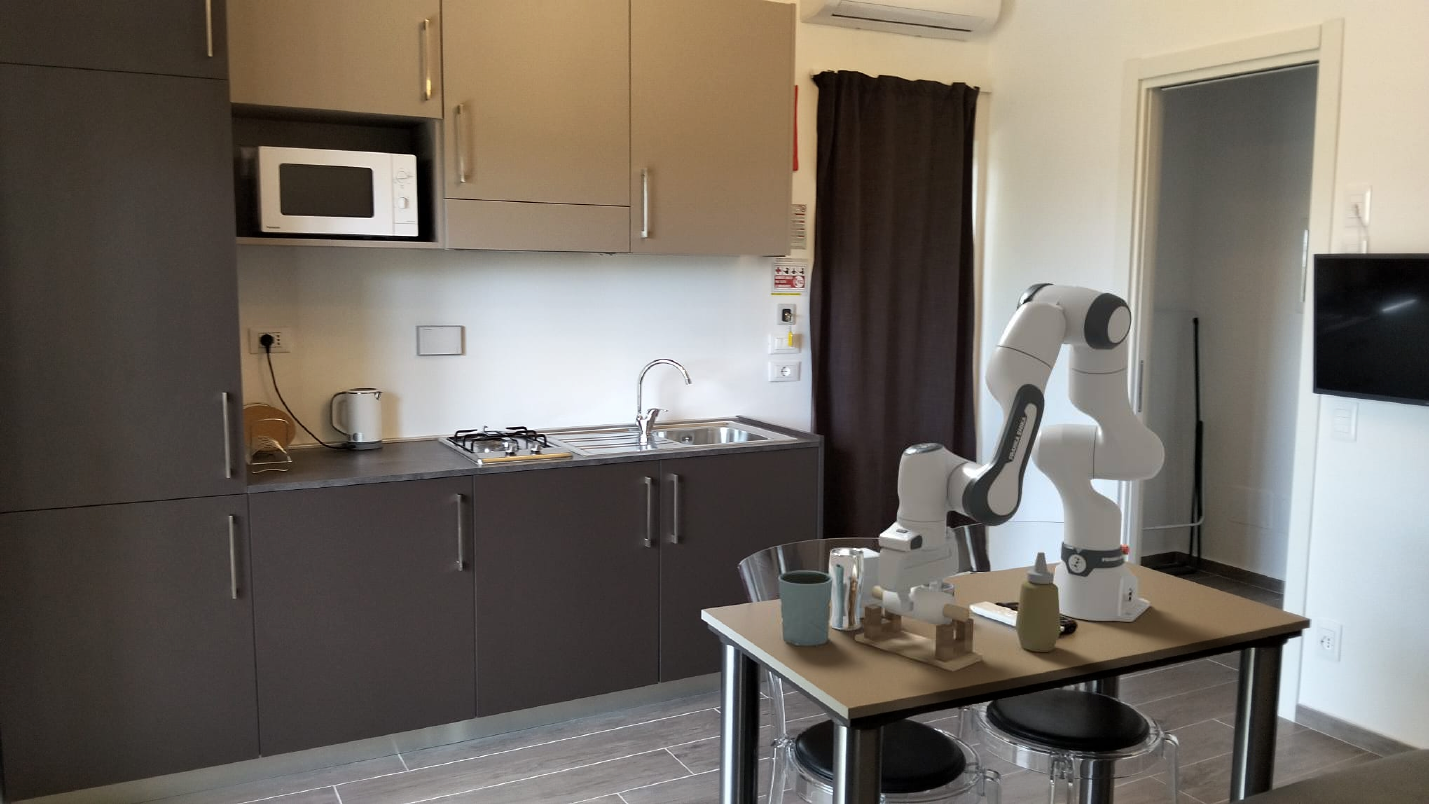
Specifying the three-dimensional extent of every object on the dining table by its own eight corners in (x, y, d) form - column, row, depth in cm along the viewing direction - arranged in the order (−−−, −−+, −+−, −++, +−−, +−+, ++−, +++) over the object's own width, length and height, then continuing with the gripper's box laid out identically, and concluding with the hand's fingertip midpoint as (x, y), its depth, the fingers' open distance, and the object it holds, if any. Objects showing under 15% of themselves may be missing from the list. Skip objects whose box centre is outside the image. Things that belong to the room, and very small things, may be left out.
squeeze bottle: (1025, 637, 202) (1028, 545, 200) (1066, 647, 197) (1070, 552, 195) (1007, 648, 196) (1011, 553, 194) (1049, 658, 190) (1054, 560, 189)
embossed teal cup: (842, 641, 199) (843, 579, 197) (800, 651, 193) (802, 586, 192) (807, 627, 207) (808, 567, 206) (766, 636, 201) (767, 574, 200)
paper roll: (865, 610, 199) (865, 579, 198) (885, 604, 203) (885, 573, 202) (955, 635, 184) (955, 601, 184) (974, 627, 188) (975, 595, 188)
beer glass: (842, 633, 203) (844, 557, 202) (820, 623, 209) (822, 549, 208) (870, 627, 207) (872, 553, 205) (847, 618, 213) (849, 545, 211)
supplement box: (864, 606, 222) (866, 547, 221) (883, 615, 215) (885, 555, 214) (834, 609, 219) (835, 550, 218) (852, 619, 212) (853, 558, 211)
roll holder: (854, 640, 199) (855, 604, 198) (884, 630, 205) (885, 595, 205) (953, 671, 183) (954, 631, 182) (982, 659, 189) (983, 621, 188)
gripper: (940, 522, 201) (937, 593, 203) (872, 537, 187) (870, 613, 189) (968, 527, 197) (965, 600, 198) (901, 543, 183) (899, 621, 184)
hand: (918, 606), depth 193 cm, fingers closed on paper roll, 6 cm apart
